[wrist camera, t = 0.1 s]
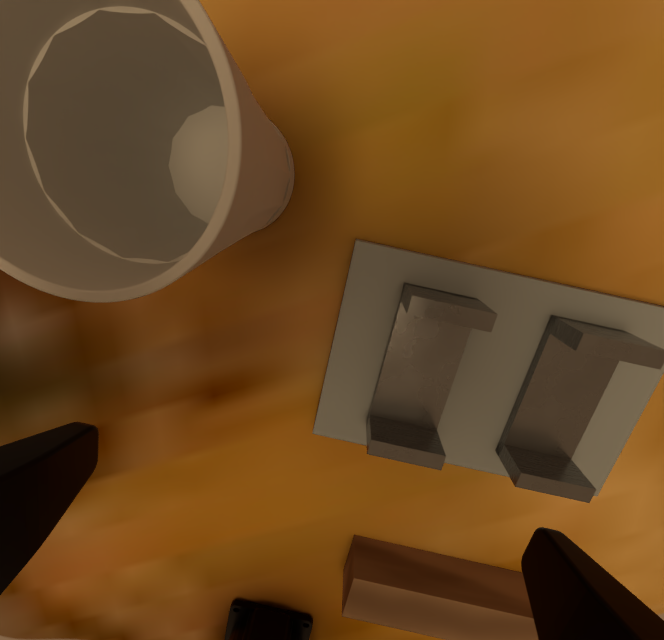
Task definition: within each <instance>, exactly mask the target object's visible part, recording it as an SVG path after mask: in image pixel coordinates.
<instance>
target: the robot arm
mask: <svg viewBox="0 0 664 640" xmlns="http://www.w3.org/2000/svg"><path fill="white" fill-rule="evenodd" d="M98 441H99V432H98V428H97V427H96V426H94V425H90V424H86V423H81V422H73V423H70V424H67V425H64V426H61V427H58V428H55V429H52V430H48V431H45V432H42V433H39V434H36V435H33V436H30V437H27V438H24V439H21V440H18V441H15V442H12V443H9V444H6V445H3V446H0V595H1V594H2V592H3V591H4V590H5V589H6V588H7V586H8V585H9V584H10V583H11V582H12V580H13V579H14V578H15V577H16V576H17V575H18V573H19V572H20V571H21V570H22V569H23V567H24V566H25V565H26V564H27V563H28V561H29V560H30V559H31V558H32V557H33V555H34V554H35V553H36V552H37V550H38V549H39V548H40V547H41V545H42V544H43V543H44V541H45V540H46V538H47V537H48V536H49V534H50V533H51V532H52V530H53V529H54V527H55V526H56V524H57V523H58V522H59V520H60V519H61V517H62V516H63V515H64V513H65V512H66V510H67V509H68V507H69V506H70V505H71V503H72V502H73V500H74V499H75V497H76V496H77V495H78V493H79V492H80V490H81V489H82V487H83V486H84V485H85V483H86V482H87V480H88V479H89V477H90V476H91V475H92V473H93V472H94V470H95V468H96V465H97V462H98ZM521 567H522V573H523V577H524V581H525V585H526V590H527V594H528V598H529V602H530V606H531V610H532V615H533V619H534V623H535V627H536V631H537V635H538V639H539V640H664V621H663V620H662V619H661V618H660V617H659V616H658V615H657V614H655V613H654V612H653V611H652V610H651V609H650V608H649V607H647V606H646V605H645V604H644V603H643V602H642V601H640V600H639V599H638V598H637V597H636V596H635V595H634V594H632V593H631V592H630V591H629V590H628V589H627V588H625V587H624V586H623V585H622V584H621V583H620V582H619V581H617V580H616V579H615V578H614V577H613V576H612V575H610V574H609V573H608V572H607V571H606V570H605V569H603V568H602V567H601V566H600V565H599V564H598V563H597V562H595V561H594V560H593V559H592V558H591V557H590V556H588V555H587V554H586V553H585V552H584V551H583V550H582V549H580V548H579V547H578V546H577V545H576V544H575V543H573V542H572V541H571V540H570V539H569V538H568V537H567V536H565V535H564V534H563V533H561V532H559V531H556V530H552V529H548V528H543V527H541V528H538V529H536V530H535V532H534V534H533V536H532V538H531V540H530V542H529V544H528V546H527V548H526V550H525V552H524V554H523V556H522V561H521ZM312 625H313V619H312V617H310V616H308V615H303V614H299V613H294V612H290V611H285V610H281V609H276V608H272V607H267V606H263V605H258V604H254V603H249V602H245V601H240V600H234V601H233V602H232V604H231V607H230V611H229V617H228V623H227V629H226V634H225V640H309V637H310V633H311V630H312Z"/></svg>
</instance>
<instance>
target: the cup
mask: <svg viewBox="0 0 664 640" xmlns="http://www.w3.org/2000/svg"><path fill="white" fill-rule="evenodd" d="M294 176H295V172H294V162H293V158H292V154H291V151H290V148H289V146H288V143H287V141H286V140H285V138H284V136H283V135H282V133H281V132H280V130H279V129H278V128H277V127H276V126H275V125H274V124H273V123H272V122H271V121H270V120H269V119H268V118H267V116H266V115H265V113H264V112H263V110H262V109H261V107H260V106H259V104H258V102H257V101H256V99H255V98H254V96H253V95H252V93H251V90H250V88H249V86H248V84H247V82H246V80H245V78H244V76H243V74H242V73H241V71H240V69H239V68H238V66H237V64H236V62H235V61H234V59H233V57H232V56H231V54H230V52H229V50H228V49H227V47H226V45H225V44H224V42H223V40H222V39H221V37H220V35H219V33H218V32H217V30H216V28H215V27H214V25H213V23H212V21H211V20H210V18H209V16H208V15H207V13H206V11H205V10H204V8H203V6H202V5H201V3H200V2H199V0H0V269H1V270H2V271H4V272H6V273H7V274H9V275H10V276H12V277H14V278H16V279H17V280H19V281H21V282H23V283H25V284H27V285H29V286H31V287H34V288H36V289H38V290H41V291H44V292H46V293H49V294H52V295H56V296H59V297H63V298H67V299H72V300H78V301H85V302H117V301H125V300H130V299H135V298H139V297H142V296H145V295H148V294H151V293H153V292H156V291H158V290H160V289H162V288H164V287H166V286H168V285H170V284H171V283H173V282H175V281H176V280H178V279H179V278H181V277H182V276H184V275H185V274H187V273H188V272H190V271H191V270H193V269H195V268H196V267H198V266H199V265H201V264H202V263H204V262H205V261H207V260H208V259H210V258H211V257H213V256H215V255H216V254H217V253H219V252H221V251H222V250H224V249H226V248H227V247H229V246H231V245H232V244H234V243H236V242H237V241H239V240H241V239H242V238H244V237H246V236H248V235H249V234H251V233H253V232H255V231H258V230H261V229H263V228H265V227H267V226H268V225H270V224H271V223H272V222H274V221H275V220H276V219H277V218H278V217H279V216H280V215H281V213H282V212H283V211H284V209H285V208H286V206H287V204H288V202H289V200H290V197H291V194H292V191H293V186H294Z"/></svg>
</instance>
